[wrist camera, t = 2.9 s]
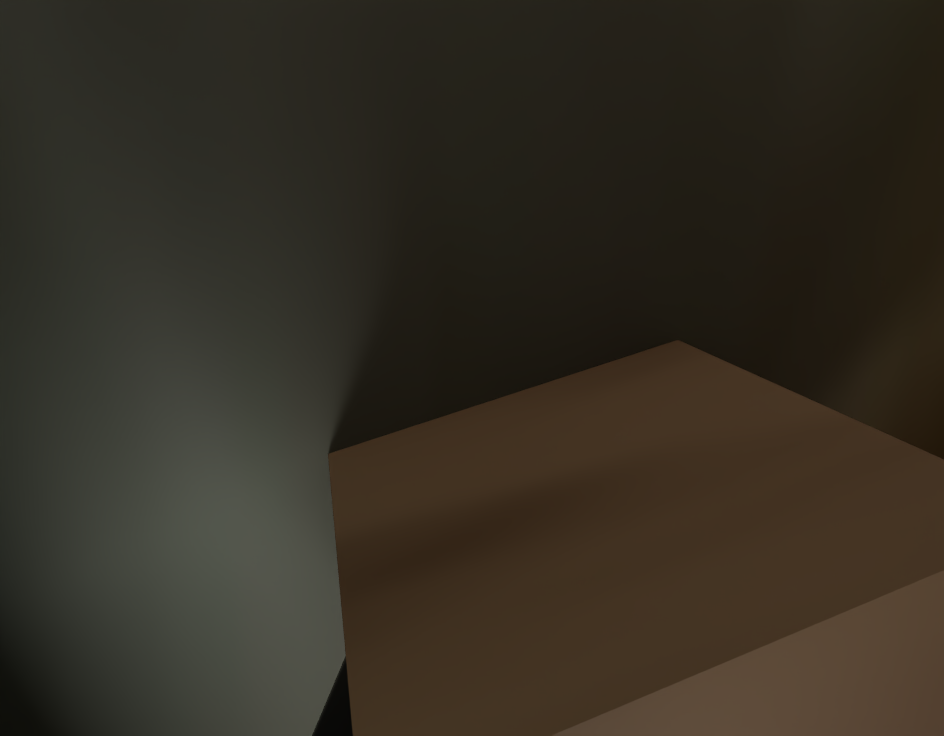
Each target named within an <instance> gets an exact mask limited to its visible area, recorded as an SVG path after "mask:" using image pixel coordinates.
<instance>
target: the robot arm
mask: <svg viewBox="0 0 944 736" xmlns="http://www.w3.org/2000/svg"><path fill="white" fill-rule="evenodd" d="M312 736H353V731H352V720H351V708H350V697H349V686H348V674H347V663H346V657H345V659H344V661H343V664H342V666H341V668H340V671H339V673H338V676H337V678H336V680H335V683H334V685H333V687H332V690H331V692H330V694H329V697H328V699H327V702H326V704H325V706H324V709H323V711H322V713H321V716H320V718H319V721H318V723H317V725H316V728H315V730H314V732H313V735H312Z"/></svg>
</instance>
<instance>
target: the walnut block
mask: <svg viewBox="0 0 944 736" xmlns="http://www.w3.org/2000/svg"><path fill="white" fill-rule="evenodd" d="M328 459H329V470H330V482H331V493H332V504H333V516H334V527H335V538H336V550H337V561H338V572H339V584H340V595H341V606H342V618H343V629H344V640H345V652H346V663H347V674H348V686H349V697H350V708H351V720H352V731H353V736H944V459H941V458H939V457H937V456H935V455H933V454H930V453H928V452H926V451H924V450H921V449H919V448H917V447H915V446H913V445H910V444H908V443H906V442H904V441H901V440H899V439H897V438H895V437H893V436H890V435H888V434H886V433H884V432H881V431H879V430H877V429H875V428H873V427H870V426H868V425H866V424H864V423H861V422H859V421H857V420H855V419H853V418H850V417H848V416H846V415H844V414H841V413H839V412H837V411H835V410H833V409H830V408H828V407H826V406H824V405H821V404H819V403H817V402H815V401H813V400H810V399H808V398H806V397H804V396H801V395H799V394H797V393H795V392H793V391H790V390H788V389H786V388H784V387H781V386H779V385H777V384H775V383H773V382H770V381H768V380H766V379H764V378H761V377H759V376H757V375H755V374H753V373H750V372H748V371H746V370H744V369H741V368H739V367H737V366H735V365H733V364H730V363H728V362H726V361H724V360H721V359H719V358H717V357H715V356H713V355H710V354H708V353H706V352H704V351H701V350H699V349H697V348H695V347H693V346H690V345H688V344H686V343H684V342H681V341H679V340H676V341H673V342H670V343H667V344H663V345H660V346H657V347H654V348H651V349H648V350H645V351H642V352H639V353H636V354H633V355H630V356H627V357H624V358H621V359H617V360H614V361H611V362H608V363H605V364H602V365H599V366H596V367H593V368H590V369H587V370H584V371H581V372H578V373H575V374H571V375H568V376H565V377H562V378H559V379H556V380H553V381H550V382H547V383H544V384H541V385H538V386H535V387H532V388H529V389H525V390H522V391H519V392H516V393H513V394H510V395H507V396H504V397H501V398H498V399H495V400H492V401H489V402H486V403H483V404H479V405H476V406H473V407H470V408H467V409H464V410H461V411H458V412H455V413H452V414H449V415H446V416H443V417H440V418H437V419H433V420H430V421H427V422H424V423H421V424H418V425H415V426H412V427H409V428H406V429H403V430H400V431H397V432H394V433H391V434H387V435H384V436H381V437H378V438H375V439H372V440H369V441H366V442H363V443H360V444H357V445H354V446H351V447H348V448H345V449H341V450H338V451H335V452H332V453H329V454H328Z"/></svg>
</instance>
